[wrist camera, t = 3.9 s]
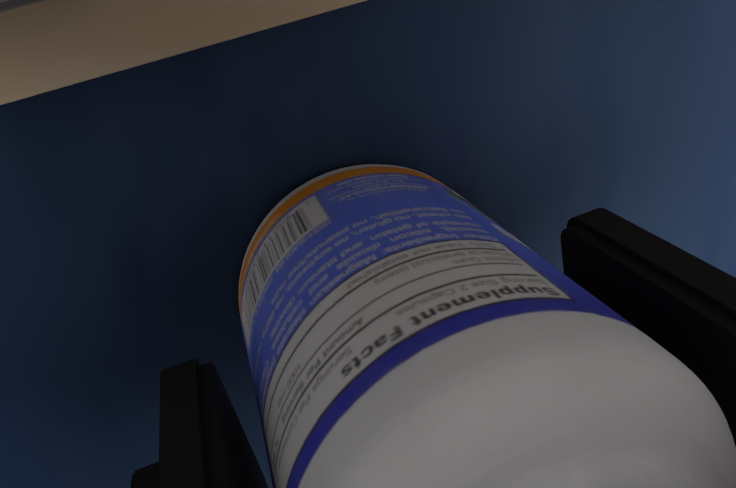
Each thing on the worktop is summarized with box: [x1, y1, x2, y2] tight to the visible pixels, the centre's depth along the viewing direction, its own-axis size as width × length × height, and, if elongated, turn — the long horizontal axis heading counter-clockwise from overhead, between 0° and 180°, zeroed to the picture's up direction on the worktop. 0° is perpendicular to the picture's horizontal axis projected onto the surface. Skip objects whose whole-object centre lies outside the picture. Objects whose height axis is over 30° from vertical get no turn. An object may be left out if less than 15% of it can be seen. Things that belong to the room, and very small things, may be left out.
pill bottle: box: [238, 164, 736, 488], centre depth 9 cm, size 5×5×10 cm
